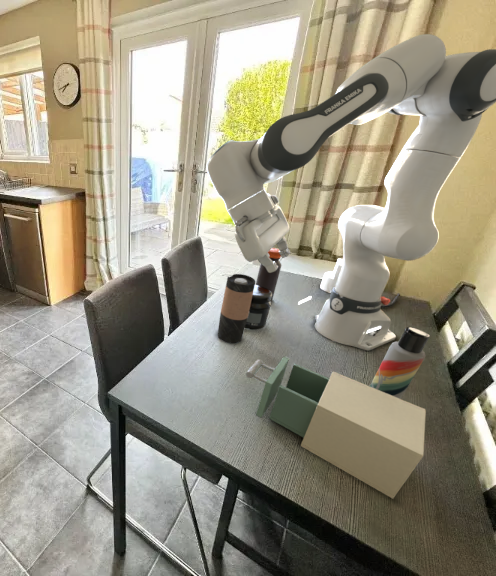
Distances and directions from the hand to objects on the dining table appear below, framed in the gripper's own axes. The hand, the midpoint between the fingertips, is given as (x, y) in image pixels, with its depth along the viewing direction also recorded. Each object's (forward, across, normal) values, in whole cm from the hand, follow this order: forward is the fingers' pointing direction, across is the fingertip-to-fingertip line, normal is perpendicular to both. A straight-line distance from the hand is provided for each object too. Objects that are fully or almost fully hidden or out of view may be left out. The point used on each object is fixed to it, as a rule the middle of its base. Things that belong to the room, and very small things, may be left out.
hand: (280, 263), depth 71 cm
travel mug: (+18, +5, +27) cm, 33 cm away
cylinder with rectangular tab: (+34, +66, +16) cm, 75 cm away
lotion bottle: (+41, +5, -3) cm, 41 cm away
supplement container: (+20, +18, +26) cm, 38 cm away
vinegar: (+20, +37, +29) cm, 51 cm away
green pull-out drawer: (+29, -15, +8) cm, 34 cm away
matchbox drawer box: (+37, -16, -1) cm, 40 cm away
